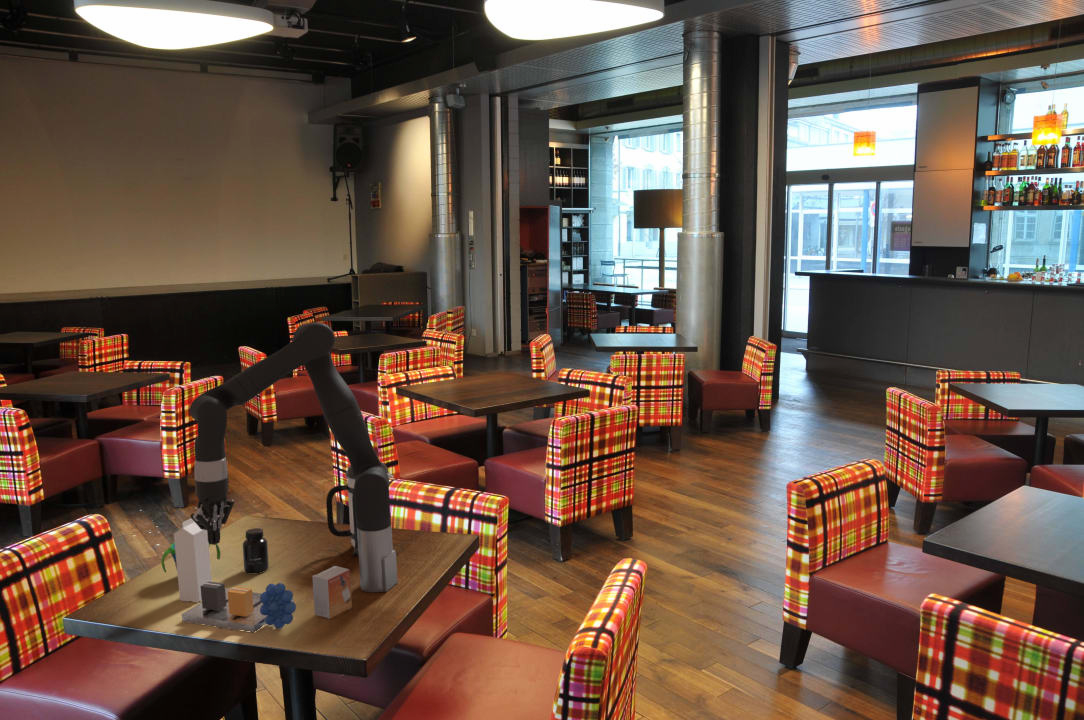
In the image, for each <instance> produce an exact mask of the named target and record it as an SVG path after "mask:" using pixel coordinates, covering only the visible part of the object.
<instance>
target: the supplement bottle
mask: <svg viewBox="0 0 1084 720" xmlns="http://www.w3.org/2000/svg"><path fill="white" fill-rule="evenodd" d="M264 536H265V535H264V530H263V528H259V527H256V528H249V529H247V530H246V531H245V540H244V541H243V543H242V555H243V556H242V558H243V559H242V560H243V570H244V572H245V573H246V574H248V573H259V574H261V573H260V572H263V571H265V572H267V571H268V570H267V569H269V568H270V567H269V565H270V563H269V550H268V549H269V547H268V540H267V538H265V537H264ZM266 570H267V571H266ZM263 573H264V572H263Z"/></svg>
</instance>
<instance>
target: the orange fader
mask: <svg viewBox="0 0 1084 720" xmlns="http://www.w3.org/2000/svg"><path fill="white" fill-rule="evenodd" d="M252 592H253V589H252V588H249V587H248V588H247V587H239V586H234V587H232V588H231V590H229V591H228V603H229V614H232V615H238V616H245V617H246V616H248V615H249V614H251V613H252V612H254V608H253V595H252Z"/></svg>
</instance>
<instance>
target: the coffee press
mask: <svg viewBox="0 0 1084 720" xmlns="http://www.w3.org/2000/svg"><path fill="white" fill-rule="evenodd" d="M380 462H381V464H382V465H383V467H384V469H385V471H386V472H387V474H388V477H389V479H394V475H393V474H392V472H390V471H389V468H388V467H387V465H386V464H385V463H384V462H382V461H380ZM345 477H346V481H347V482H346V484H338V485H336V486H333V487H332V488H330V490H329V491H328V493H327V495H326V504H325V505H326V521H327V527H328V531H329V532H330V533H331V534H332V535H334V536H335V537H340V538H341V537H342V538H343V537H345V538H346V537H350V543H351V546H352V547H353V551H352V556H354V557H359V554H358V537H357V522H356V516H355V502H354V484H355V478H354V474H353V471H352V468H351V465H350V464H349V466H348V467H347V469H346V471H345ZM342 491H344V492H345V491H346V492H347V496H348V510H349V512H348V514H349V529H346V530H339V529H337V528H336V527H335V523H334V511H333V508H334V507H333V498H334V496H335V494H336V493H339V492H342Z"/></svg>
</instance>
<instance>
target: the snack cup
mask: <svg viewBox="0 0 1084 720" xmlns="http://www.w3.org/2000/svg"><path fill="white" fill-rule="evenodd" d="M218 544H219V543H218ZM218 544H216V545H215V550H216V559H217V560H218V561H219V560H220V559H221V549H220V546H219V545H218ZM210 545H211V544H209V547H210ZM169 554H171V556H172V559H173V561H174V564H175V569H176V570H177V563H176V552H175V541H174V542H173V543H171V544H170V546H169V547H168V549H166V550H165V551H164V552H163V554H162V557H161V567H162V569H163V572H164V573H167V570H166V566H165V559H166V557H167V556H168V555H169Z"/></svg>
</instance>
